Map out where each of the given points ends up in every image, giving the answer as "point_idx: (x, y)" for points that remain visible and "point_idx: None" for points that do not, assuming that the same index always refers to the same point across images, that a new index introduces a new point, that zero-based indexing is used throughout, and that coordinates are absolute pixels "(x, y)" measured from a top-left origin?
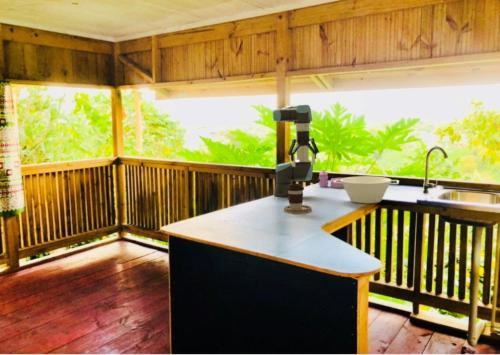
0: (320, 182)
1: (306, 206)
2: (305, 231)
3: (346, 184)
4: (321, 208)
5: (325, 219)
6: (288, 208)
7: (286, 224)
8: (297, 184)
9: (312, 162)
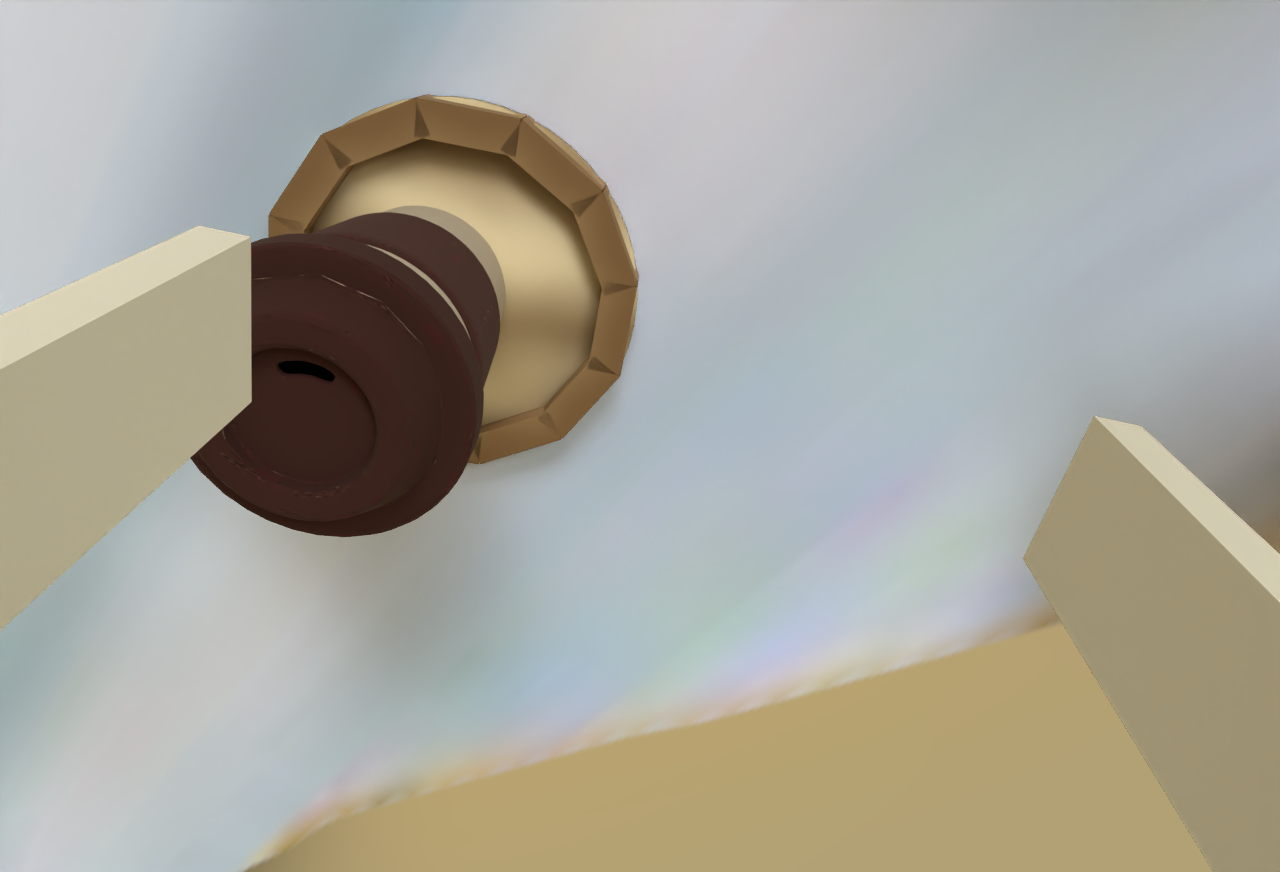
0: None
1: (600, 298)
2: (119, 853)
3: None
4: (766, 386)
5: (454, 728)
6: (374, 170)
7: (63, 656)
8: (368, 399)
9: (1108, 499)
